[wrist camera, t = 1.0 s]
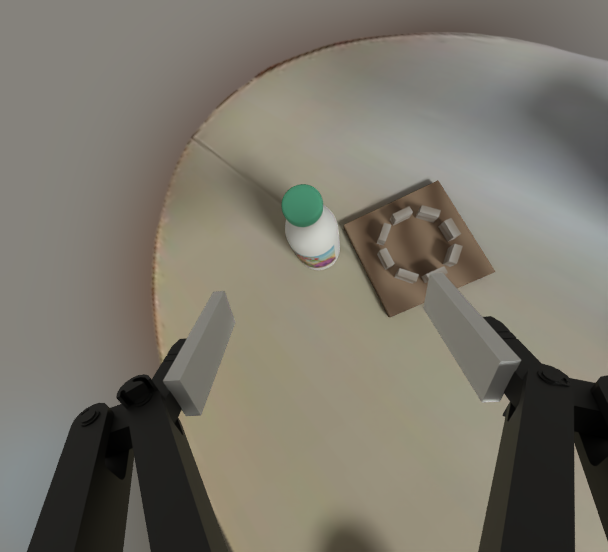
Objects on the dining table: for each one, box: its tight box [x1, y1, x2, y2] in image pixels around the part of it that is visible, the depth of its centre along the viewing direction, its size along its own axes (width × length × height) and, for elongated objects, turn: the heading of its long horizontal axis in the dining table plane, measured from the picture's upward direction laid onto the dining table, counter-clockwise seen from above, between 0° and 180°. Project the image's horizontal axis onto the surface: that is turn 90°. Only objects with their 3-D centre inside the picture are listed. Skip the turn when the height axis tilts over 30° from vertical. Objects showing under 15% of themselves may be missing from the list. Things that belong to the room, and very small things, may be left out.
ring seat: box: [344, 181, 495, 317], centre depth 41 cm, size 18×18×4 cm
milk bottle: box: [282, 184, 340, 270], centre depth 36 cm, size 8×8×20 cm
